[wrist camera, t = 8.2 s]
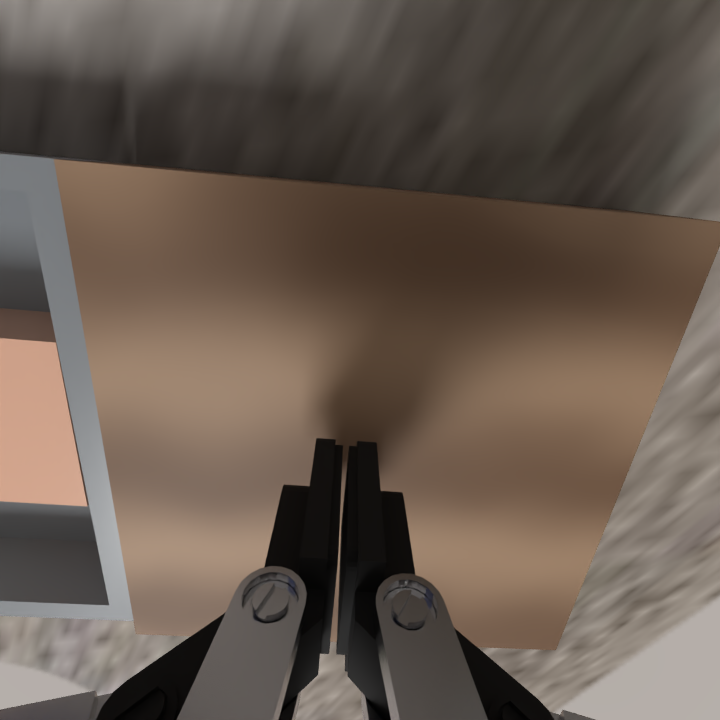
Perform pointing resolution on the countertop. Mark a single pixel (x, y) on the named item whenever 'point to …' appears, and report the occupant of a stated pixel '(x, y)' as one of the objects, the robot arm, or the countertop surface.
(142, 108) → the countertop surface
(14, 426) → the terracotta tile
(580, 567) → the walnut board
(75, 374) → the tray
